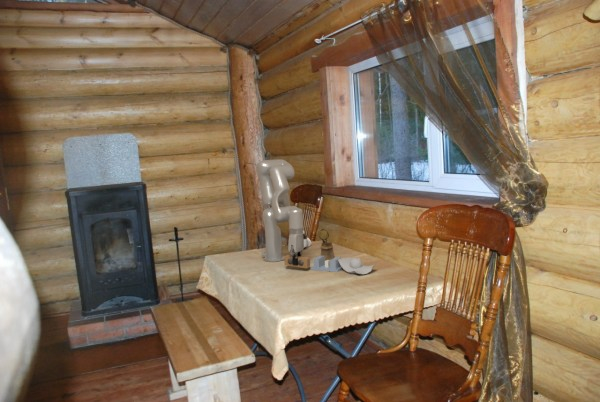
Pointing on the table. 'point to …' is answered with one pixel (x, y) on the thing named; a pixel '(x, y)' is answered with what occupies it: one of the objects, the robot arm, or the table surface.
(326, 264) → the display stand
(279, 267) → the table surface
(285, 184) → the robot arm
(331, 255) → the wooden mug
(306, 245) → the spread jar
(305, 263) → the tan wooden plank
